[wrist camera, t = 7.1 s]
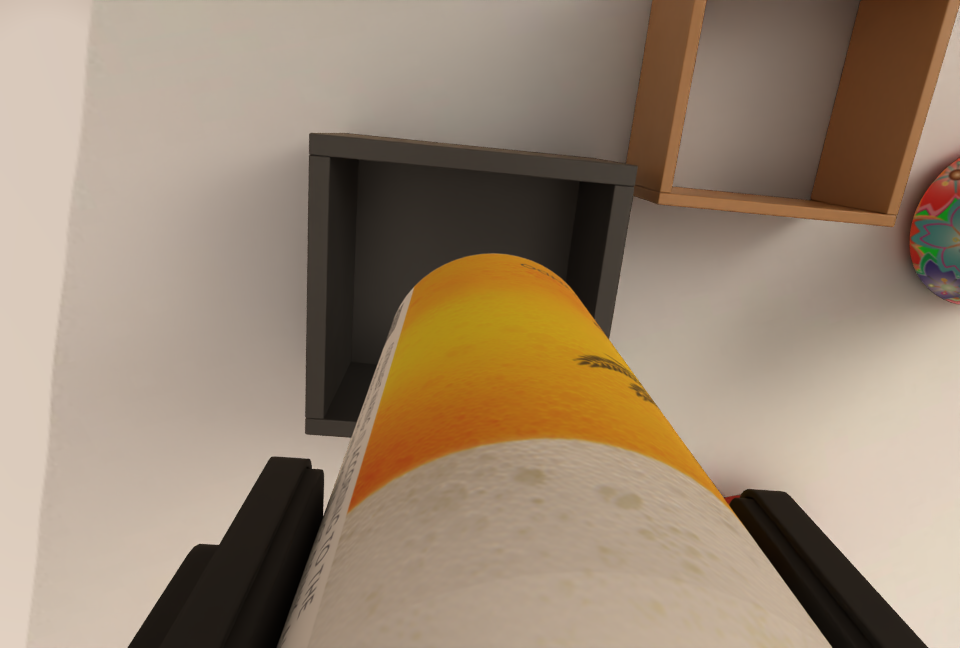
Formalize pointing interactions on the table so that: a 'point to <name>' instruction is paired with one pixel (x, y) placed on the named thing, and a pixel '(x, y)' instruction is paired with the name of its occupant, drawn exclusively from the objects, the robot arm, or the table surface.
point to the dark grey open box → (439, 241)
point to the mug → (939, 235)
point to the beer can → (526, 494)
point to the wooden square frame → (853, 125)
